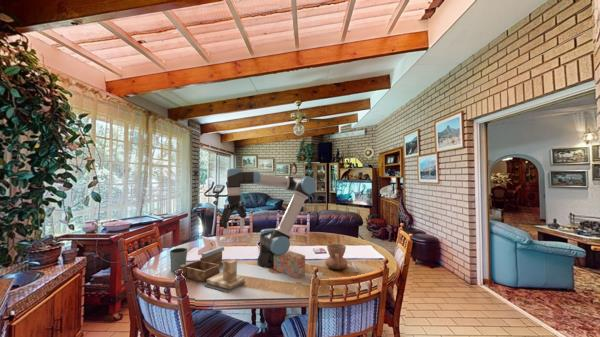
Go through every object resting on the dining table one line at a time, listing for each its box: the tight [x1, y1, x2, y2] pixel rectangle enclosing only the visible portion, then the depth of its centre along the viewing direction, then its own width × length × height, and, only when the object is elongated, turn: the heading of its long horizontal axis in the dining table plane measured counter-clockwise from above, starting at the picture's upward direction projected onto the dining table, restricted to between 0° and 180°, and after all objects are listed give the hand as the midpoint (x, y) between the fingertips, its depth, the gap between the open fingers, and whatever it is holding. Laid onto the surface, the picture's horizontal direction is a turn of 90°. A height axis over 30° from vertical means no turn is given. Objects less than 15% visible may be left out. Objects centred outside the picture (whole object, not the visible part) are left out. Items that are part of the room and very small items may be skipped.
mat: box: [204, 280, 246, 294], centre depth 133 cm, size 16×14×1 cm
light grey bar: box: [201, 245, 225, 258], centre depth 161 cm, size 3×17×2 cm, turn 154°
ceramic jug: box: [324, 242, 349, 271], centre depth 159 cm, size 18×14×14 cm
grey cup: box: [169, 247, 188, 272], centre depth 155 cm, size 10×10×12 cm
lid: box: [205, 258, 245, 289], centre depth 134 cm, size 17×11×12 cm, turn 64°
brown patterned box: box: [273, 250, 306, 280], centre depth 150 cm, size 21×6×12 cm, turn 49°
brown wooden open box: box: [179, 251, 223, 283], centre depth 150 cm, size 18×31×8 cm, turn 154°
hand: (234, 231), depth 141 cm, fingers open, 13 cm apart
